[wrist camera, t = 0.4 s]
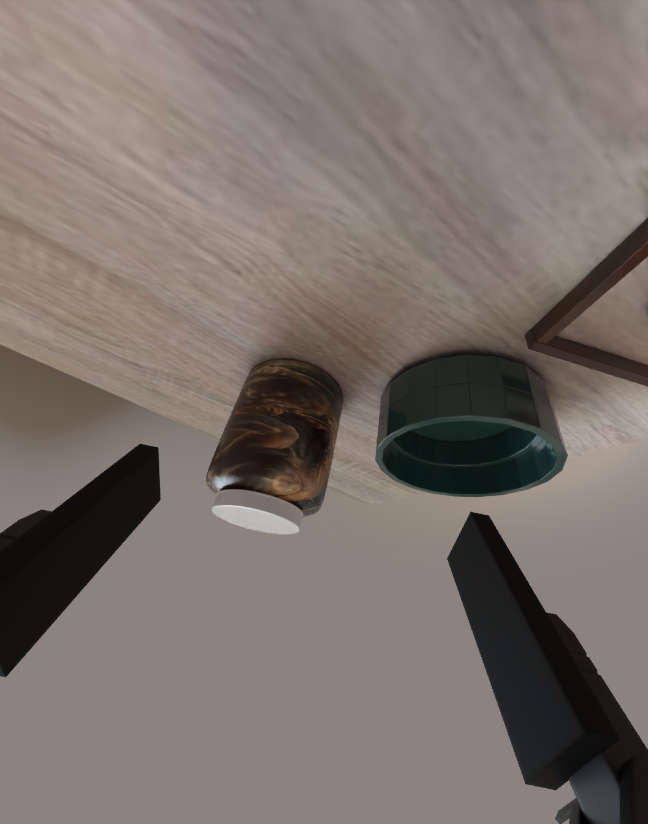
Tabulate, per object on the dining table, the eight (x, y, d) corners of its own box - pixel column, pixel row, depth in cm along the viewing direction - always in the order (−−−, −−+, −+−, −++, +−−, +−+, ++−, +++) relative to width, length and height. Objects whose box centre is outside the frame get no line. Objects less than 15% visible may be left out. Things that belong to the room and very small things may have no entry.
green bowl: (423, 328, 25) (423, 393, 21) (592, 381, 26) (621, 452, 22) (362, 422, 38) (355, 473, 34) (477, 454, 39) (483, 507, 35)
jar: (338, 428, 40) (315, 547, 32) (253, 412, 41) (209, 524, 33) (349, 368, 31) (322, 517, 22) (238, 348, 31) (171, 485, 23)
